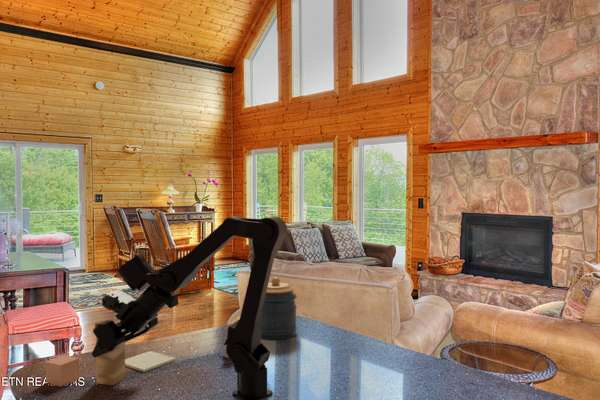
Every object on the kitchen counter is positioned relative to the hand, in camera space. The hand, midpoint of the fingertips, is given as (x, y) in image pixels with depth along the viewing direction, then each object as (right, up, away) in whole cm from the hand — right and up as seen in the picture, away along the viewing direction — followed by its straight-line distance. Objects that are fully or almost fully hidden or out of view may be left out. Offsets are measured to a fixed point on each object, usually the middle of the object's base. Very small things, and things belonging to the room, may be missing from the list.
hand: (105, 349), depth 116 cm
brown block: (+1, -7, 0) cm, 7 cm away
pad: (+6, -7, +12) cm, 15 cm away
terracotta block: (-10, -7, 0) cm, 12 cm away
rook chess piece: (+27, -7, +17) cm, 33 cm away
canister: (+38, -6, +36) cm, 53 cm away
